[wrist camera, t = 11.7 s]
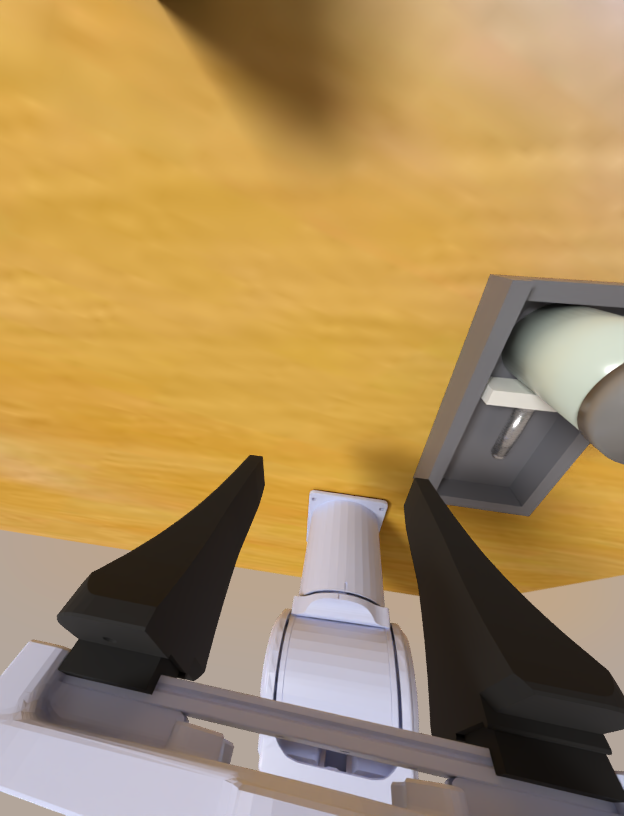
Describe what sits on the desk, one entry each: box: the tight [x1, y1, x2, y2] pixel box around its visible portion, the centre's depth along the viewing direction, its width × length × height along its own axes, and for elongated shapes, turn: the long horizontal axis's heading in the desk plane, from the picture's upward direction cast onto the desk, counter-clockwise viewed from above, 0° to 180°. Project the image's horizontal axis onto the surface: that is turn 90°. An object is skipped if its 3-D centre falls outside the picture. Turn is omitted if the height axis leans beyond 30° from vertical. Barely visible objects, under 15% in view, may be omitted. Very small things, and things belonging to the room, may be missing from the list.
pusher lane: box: [413, 274, 624, 516], centre depth 18 cm, size 17×9×3 cm, turn 177°
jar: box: [501, 303, 624, 464], centre depth 13 cm, size 5×5×8 cm
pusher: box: [481, 377, 557, 460], centre depth 18 cm, size 6×6×2 cm
